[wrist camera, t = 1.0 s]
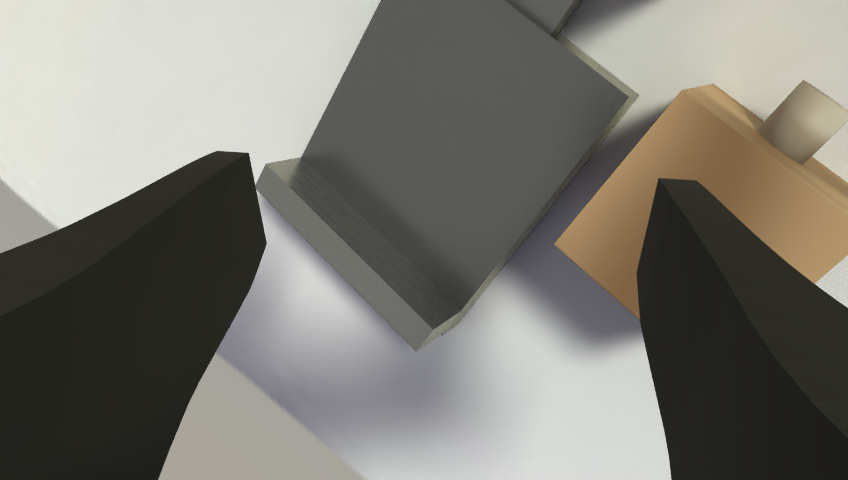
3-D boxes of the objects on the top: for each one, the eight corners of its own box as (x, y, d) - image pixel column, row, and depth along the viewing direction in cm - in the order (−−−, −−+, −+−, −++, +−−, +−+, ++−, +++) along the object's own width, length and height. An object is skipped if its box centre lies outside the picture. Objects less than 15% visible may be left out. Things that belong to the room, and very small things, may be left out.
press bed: (959, -309, 15) (987, -390, 12) (456, 324, 26) (413, 355, 23) (644, -463, 17) (608, -559, 14) (307, 179, 28) (252, 191, 25)
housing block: (910, 150, 17) (935, 179, 13) (730, 313, 20) (704, 377, 16) (752, 39, 18) (728, 33, 14) (606, 209, 22) (554, 244, 18)
